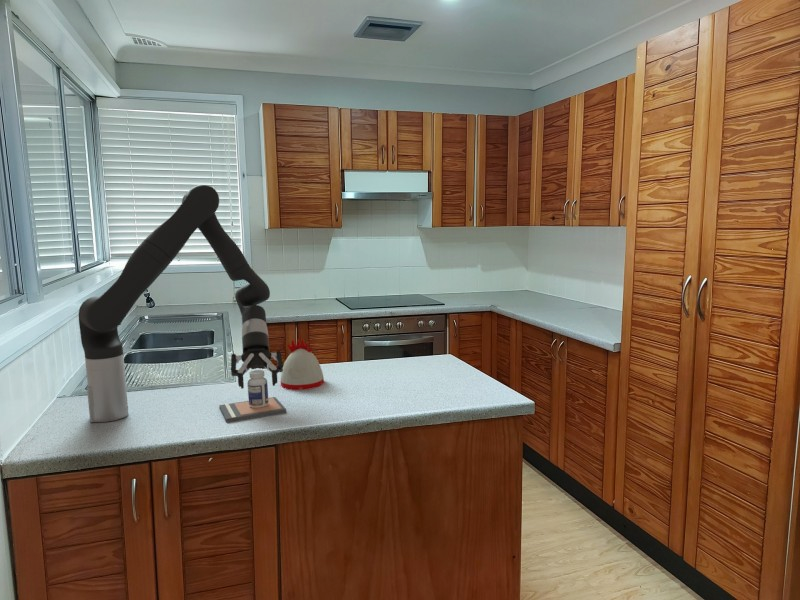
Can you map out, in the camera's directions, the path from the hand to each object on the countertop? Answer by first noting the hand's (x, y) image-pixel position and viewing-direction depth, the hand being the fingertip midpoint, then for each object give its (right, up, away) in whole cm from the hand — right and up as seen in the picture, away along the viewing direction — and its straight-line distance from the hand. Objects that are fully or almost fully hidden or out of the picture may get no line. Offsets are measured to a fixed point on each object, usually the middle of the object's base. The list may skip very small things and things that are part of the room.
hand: (258, 385), depth 155 cm
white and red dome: (+7, -4, +28) cm, 29 cm away
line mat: (-2, -7, +1) cm, 8 cm away
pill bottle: (0, -6, +2) cm, 6 cm away
